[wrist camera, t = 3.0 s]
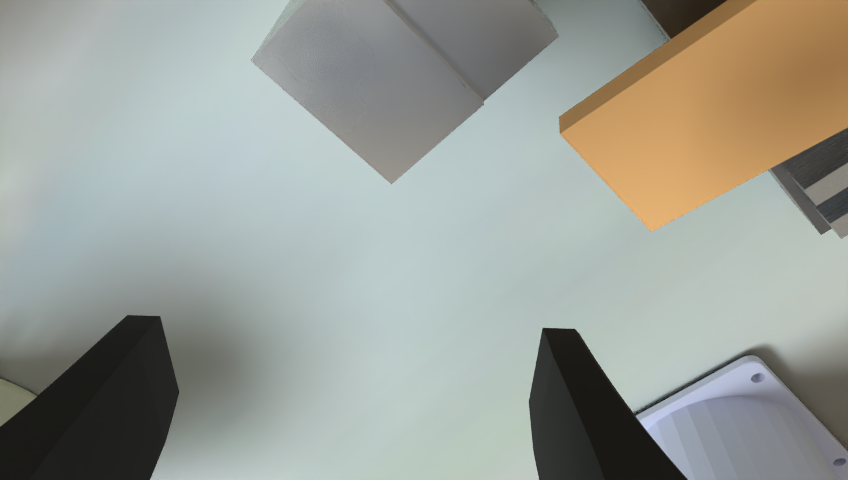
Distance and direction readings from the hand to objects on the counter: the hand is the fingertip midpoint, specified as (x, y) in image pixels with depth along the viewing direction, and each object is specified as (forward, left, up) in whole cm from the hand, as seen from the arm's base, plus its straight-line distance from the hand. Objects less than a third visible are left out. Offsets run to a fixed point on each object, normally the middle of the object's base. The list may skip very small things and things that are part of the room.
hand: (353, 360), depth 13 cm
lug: (+3, -4, -9) cm, 11 cm away
